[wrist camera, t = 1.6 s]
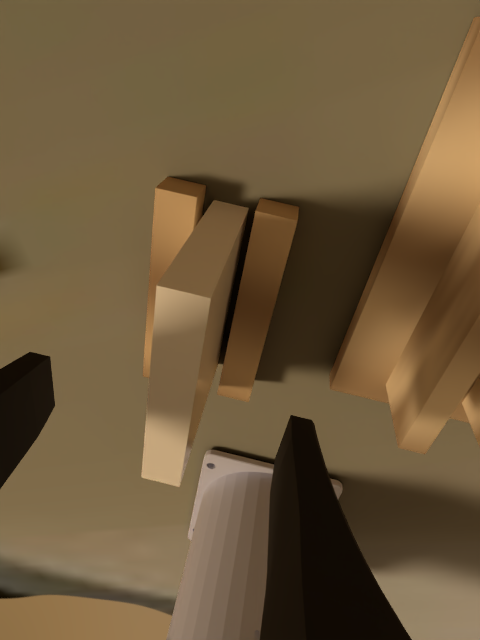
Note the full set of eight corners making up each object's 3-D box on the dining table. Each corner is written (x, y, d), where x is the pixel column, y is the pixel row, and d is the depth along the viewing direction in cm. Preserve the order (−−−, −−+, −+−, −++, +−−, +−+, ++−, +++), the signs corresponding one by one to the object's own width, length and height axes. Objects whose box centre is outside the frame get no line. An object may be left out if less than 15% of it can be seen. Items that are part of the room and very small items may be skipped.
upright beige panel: (218, 363, 21) (179, 486, 15) (190, 356, 21) (141, 477, 15) (249, 208, 16) (210, 298, 10) (213, 199, 16) (156, 285, 11)
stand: (252, 380, 21) (248, 402, 20) (153, 356, 21) (142, 376, 20) (299, 206, 16) (297, 220, 15) (168, 176, 16) (155, 187, 15)
